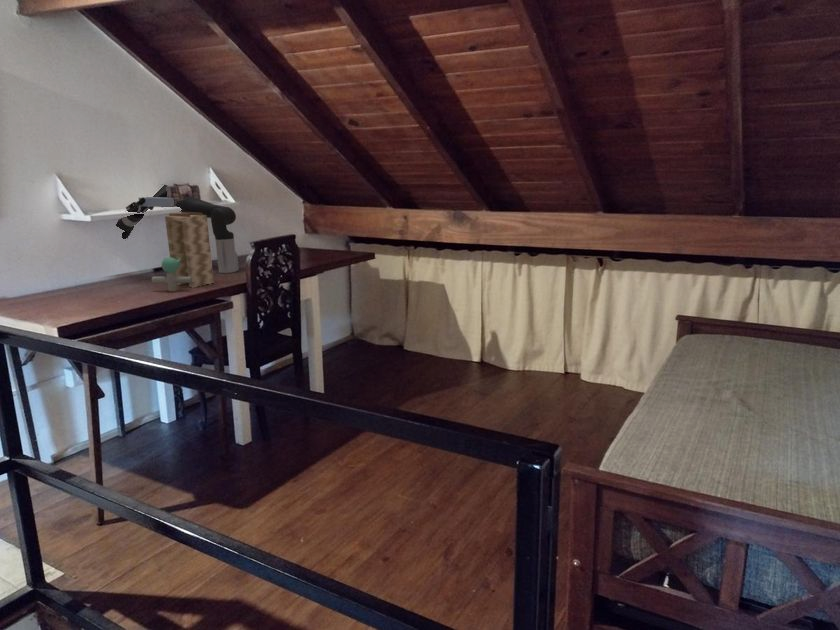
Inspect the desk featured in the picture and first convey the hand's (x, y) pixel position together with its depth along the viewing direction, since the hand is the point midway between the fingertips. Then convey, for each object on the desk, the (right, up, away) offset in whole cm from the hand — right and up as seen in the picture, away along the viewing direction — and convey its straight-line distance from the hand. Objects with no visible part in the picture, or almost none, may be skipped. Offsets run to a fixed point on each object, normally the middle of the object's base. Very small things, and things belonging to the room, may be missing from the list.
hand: (148, 198), depth 298 cm
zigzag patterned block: (+24, -41, -5) cm, 48 cm away
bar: (+5, -4, -2) cm, 7 cm away
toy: (+19, -45, -18) cm, 52 cm away
